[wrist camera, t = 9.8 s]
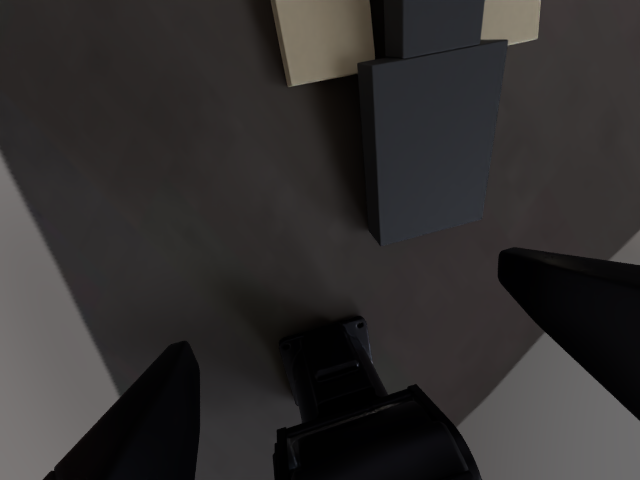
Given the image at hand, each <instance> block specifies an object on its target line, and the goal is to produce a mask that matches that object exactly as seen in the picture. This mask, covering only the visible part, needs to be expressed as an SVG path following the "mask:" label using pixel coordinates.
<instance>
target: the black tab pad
mask: <svg viewBox="0 0 640 480" xmlns="http://www.w3.org/2000/svg"><path fill="white" fill-rule="evenodd" d="M484 4H485V0H384V26H385V56H386V58H380V59H375V60H370V61H364V62H359V63H357V69H358V83H359V97H360V112H361V126H362V140H363V155H364V169H365V183H366V197H367V212H368V226H369V232H370V233H371V234H372V236H373V237H374V238H375V240H376V241H377V242H378V244H379V245H380V246H383V245H387V244H391V243H395V242H398V241H402V240H406V239H409V238H413V237H417V236H421V235H424V234H428V233H432V232H436V231H439V230H443V229H447V228H451V227H454V226H458V225H462V224H466V223H469V222H473V221H477V220H481V219H482V215H483V208H484V201H485V194H486V188H487V181H488V174H489V167H490V161H491V154H492V147H493V140H494V134H495V127H496V120H497V113H498V107H499V100H500V93H501V86H502V80H503V73H504V66H505V59H506V53H507V46H508V40H507V39H489V40H481V32H482V23H483V13H484Z"/></svg>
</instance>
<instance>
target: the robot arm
mask: <svg viewBox="0 0 640 480" xmlns="http://www.w3.org/2000/svg"><path fill="white" fill-rule="evenodd" d="M498 279H499V281H500V283H501V284H502V285H503V287H504V288H505V289H506V290H507V291H508V292H509V293H510V295H511V296H512V297H513V298H514V299H515V300H516V301H517V302H518V304H519V305H520V306H521V307H522V308H523V309H524V310H525V312H526V313H527V314H528V315H529V316H530V317H531V318H532V319H533V320H534V321H535V323H536V324H537V325H539V326H540V327H541V328H542V329H543V330H544V331H545V332H546V333H547V334H548V335H549V336H550V337H551V338H552V339H553V340H554V341H555V342H557V343H558V344H559V345H560V346H561V347H562V348H563V349H564V350H565V351H566V352H567V353H568V354H569V355H570V356H571V357H572V358H574V360H576V361H577V362H578V363H579V364H580V365H581V366H582V367H583V368H584V369H585V370H586V371H587V372H588V373H589V374H590V375H592V376H593V377H594V378H595V379H596V380H597V381H598V382H599V383H600V384H601V385H602V386H603V387H604V388H605V389H606V390H607V391H609V392H610V393H611V394H612V395H613V396H614V397H615V398H616V399H617V400H618V401H619V402H620V403H621V404H622V405H623V406H624V407H626V408H627V409H628V410H629V411H630V412H631V413H632V414H633V415H634V416H635V417H636V418H637V419H638V420H640V265H634V264H627V263H621V262H614V261H607V260H600V259H593V258H586V257H579V256H572V255H565V254H558V253H551V252H544V251H537V250H530V249H523V248H516V247H514V248H509V249H506V250H503V251H501V252H500V254H499V259H498ZM359 322H361V324H359V325H357V324H358V323H359ZM285 344H288V346H284V345H285ZM279 349H280V353H281V356H282V360H283V363H284V366H285V370H286V373H287V377H288V380H289V383H290V387H291V390H292V394H293V397H294V400H295V404H296V405H297V406H299V409H300V414H301V419H302V424H299V425H296V426H293V427H290V428H287V429H286V427H284V428H281V429H278V430H277V443H275V453H274V454H273V466H274V478H275V480H482V479H481V476H480V473H479V470H478V467H477V465H476V462H475V460H474V458H473V456H472V454H471V451H470V449H469V447H468V446H467V444H466V442H465V440H464V439H463V437H462V435H461V434H460V432H459V431H458V430H457V428H456V427H455V426H454V424H453V423H452V422H451V421H450V420H449V419H448V418H447V417H446V416H445V415H444V413H443V412H442V411H441V410H440V409H439V408H438V407H437V406H436V405H435V404H434V403H433V402H432V401H431V399H430V398H429V397H428V396H427V395H426V394H425V393H424V392H423V391H422V390H421V389H420V388H419V387H418V386H417V384H414V385H411V386H408V387H407V389H405V390H402V391H399V392H396V393H393V394H390V395H388V394H387V392H386V390H385V388H384V386H383V384H382V382H381V380H380V378H379V376H378V374H377V372H376V370H375V368H374V366H373V364H372V357H371V350H370V343H369V337H368V330H367V323H366V321H365V319H364V318H363V317H361V316H357V317H354V318H351V319H347V320H344V321H340V322H337V323H333V324H330V325H327V326H323V327H320V328H316V329H313V330H310V331H306V332H303V333H299V334H296V335H293V336H289V337H286V338H283V339H281V340H280V341H279ZM199 434H200V370H199V365H198V362H197V360H196V358H195V356H194V353H193V351H192V349H191V346H190V344H189V343H188V342H187V341H181V342H178V343H174V344H171V345H169V346H168V347H167V348H166V349H165V350H164V352H163V353H162V354H161V355H160V356H159V357H158V358H157V359H156V360H155V361H154V362H153V363H152V364H151V365H150V366H149V367H148V368H147V370H146V371H145V372H144V373H143V374H142V375H141V376H140V377H139V378H138V379H137V380H136V381H135V382H134V383H133V384H132V385H131V387H130V388H129V389H128V390H127V391H126V392H125V393H124V394H123V395H122V396H121V397H120V398H119V399H118V400H117V402H116V403H115V404H114V405H113V406H112V407H111V408H110V409H109V410H108V411H107V412H106V413H105V414H104V415H103V416H102V417H101V418H100V420H98V422H97V423H96V424H95V425H94V426H93V427H92V428H91V429H90V430H89V431H88V432H87V433H86V434H85V435H84V436H83V437H82V439H81V440H80V441H79V442H78V443H77V444H76V445H75V446H74V447H73V448H72V449H71V450H70V451H69V452H68V453H67V454H66V456H65V457H64V458H63V459H62V460H61V461H60V462H59V463H58V464H57V465H56V466H55V468H54V471H51V472H49V473H48V474H47V476H46V477H45V478H44V479H43V480H195V471H196V462H197V453H198V444H199Z"/></svg>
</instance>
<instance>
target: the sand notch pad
mask: <svg viewBox="0 0 640 480" xmlns="http://www.w3.org/2000/svg"><path fill="white" fill-rule="evenodd" d="M540 4H541V0H485V4H484V13H483V23H482V32H481V40H489V39H507V40H508V45H513V44H518V43H522V42H527V41H531V40H535V39H537V38H538V28H539V16H540ZM271 5H272V10H273V15H274V20H275V25H276V30H277V36H278V41H279V46H280V51H281V56H282V61H283V66H284V71H285V76H286V81H287V86H288V87H292V86H297V85H302V84H308V83H313V82H318V81H324V80H329V79H334V78H339V77H345V76H350V75H355V74H358V69H357V63H359V62H364V61H370V60H375V51H374V40H373V29H372V19H371V8H370V0H271Z"/></svg>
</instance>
